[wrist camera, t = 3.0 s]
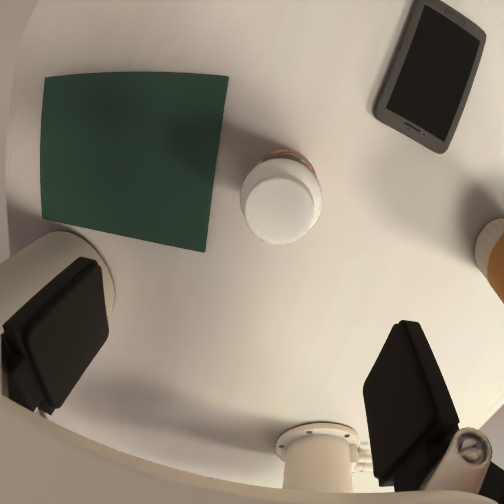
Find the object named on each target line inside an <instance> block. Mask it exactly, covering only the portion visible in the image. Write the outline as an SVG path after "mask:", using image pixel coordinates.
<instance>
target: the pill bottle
mask: <svg viewBox="0 0 504 504" xmlns="http://www.w3.org/2000/svg"><path fill="white" fill-rule="evenodd" d="M240 206H241V210H242V213H243V215H244V217H245V219H246V222H247V224H248V226H249V228H250V229H251V231H252V232H253V233H254V234H255V235H256V236H257V237H259V238H260V239H261V240H263V241H265V242H268V243H271V244H279V245H282V244H288V243H292V242H294V241H297V240H298V239H300V238H301V237H302V236H303V235H304V234H305V233H306V232H307V231H308V230H309V229H310V228H311V227H312V226H313V224H314V223H315V222H316V220H317V219H318V217H319V214H320V212H321V208H322V191H321V187H320V184H319V181H318V179H317V176H316V173H315V170H314V168H313V166H312V165H311V163H310V162H309V161H308V160H307V159H306V158H305V157H304V156H302V155H301V154H299V153H297V152H294V151H291V150H277V151H274V152H271V153H269V154H267V155H266V156H264V157H263V158H262V159H261V160H260V161H259V162H258V163H257V164H256V166H255V167H254V168H253V169H252V170H251V171H250V172H249V174H248V175H247V177H246V178H245V180H244V182H243V184H242V188H241V192H240Z"/></svg>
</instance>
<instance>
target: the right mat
mask: <svg viewBox="0 0 504 504" xmlns="http://www.w3.org/2000/svg"><path fill="white" fill-rule="evenodd" d="M228 79H229V77H226V76H216V75H204V74H190V73H169V72H112V73H91V74H77V75H66V76H57V77H48V78H45V84H44V94H43V105H42V118H41V140H40V183H41V205H42V218H43V219H46V220H51V221H56V222H60V223H65V224H70V225H74V226H79V227H84V228H88V229H93V230H98V231H102V232H107V233H112V234H117V235H121V236H126V237H131V238H136V239H140V240H145V241H150V242H155V243H160V244H164V245H169V246H174V247H179V248H184V249H189V250H194V251H199V252H203V253H204V252H205V249H206V240H207V231H208V222H209V213H210V205H211V197H212V189H213V181H214V173H215V166H216V158H217V151H218V144H219V137H220V130H221V124H222V117H223V110H224V104H225V98H226V91H227V85H228Z"/></svg>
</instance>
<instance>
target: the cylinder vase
mask: <svg viewBox="0 0 504 504" xmlns="http://www.w3.org/2000/svg"><path fill="white" fill-rule="evenodd" d="M78 257H86V258H90V259H94V260H96V261H97V262H98V265H100V266H101V268H102V276H103V287H104V296H105V305H106V313H107V318H108V317H109V315H110V314H111V312H112V309H113V306H114V300H115V292H114V285H113V281H112V278H111V275H110V272H109V270H108V268H107V266H106V264H105V263H104V261H103V259H102V258H101V257H100V255H99V254H98V253H97V251H96V250H95V249H94V248H93V247H92V246H91V245H90V244H89V243H87V242H86V241H85V240H83V239H82V238H80V237H78V236H77V235H74V234H72V233H69V232H64V231H54V232H50V233H48V234H46V235H44V236H42V237H41V238H39V239H38V240H36V241H34V242H33V243H31V244H30V245H28V246H27V247H25V248H24V249H22V250H20V251H19V252H17V253H16V254H14V255H13V256H11V257H10V258H8V259H7V260H5V261H4V262H3V263H1V264H0V334H2V333H3V332H4V330H3V327H2V325H3V324H4V323H5V322H6V321H7V320H8V319H9V318H10V317H11V316H12V315H13V314H14V313H16V312H17V311H18V310H19V309H20V308H21V307H22V306H23V305H24V304H25V303H26V302H27V301H29V300H30V299H31V298H32V297H33V296H34V295H35V294H36V293H37V292H38V291H40V290H41V289H42V288H43V287H44V286H45V285H46V284H48V283H49V282H50V281H51V280H52V279H53V278H54V277H56V276H57V275H58V274H59V273H60V272H62V271H63V270H64V269H65V268H66V267H67V266H69V265H70V264H71V263H72V262H73V261H75V260H76V259H77V258H78ZM37 409H38V407H37V408H36V409H35V411H34V413H35V412H36V411H37Z"/></svg>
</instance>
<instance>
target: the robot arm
mask: <svg viewBox="0 0 504 504" xmlns="http://www.w3.org/2000/svg"><path fill="white" fill-rule="evenodd" d="M2 327H3V330H4V332H3V333H2V334H0V504H504V470H503V469H501V468H499V467H498V466H497V465H495V464H494V463H492V462H491V458H492V447H491V444H490V442H489V440H488V439H487V437H486V436H485V435H484V434H483V433H482V432H480V431H479V430H477V429H474V428H469V427H467V428H462V429H460V430H459V427H458V423H459V422H460V421H459V418H458V415H457V413H456V410H455V407H454V404H453V402H452V399H451V396H450V394H449V391H448V389H447V386H446V384H445V381H444V379H443V376H442V374H441V371H440V369H439V366H438V364H437V362H436V359H435V357H434V355H433V352H432V350H431V348H430V345H429V343H428V341H427V339H426V337H425V334H424V332H423V330H422V328H421V326H420V324H419V323H418V322H413V321H406V320H401V321H400V322H399V323H398V324H395V325H394V326H393V327H392V329H391V331H390V334H389V336H388V338H387V340H386V342H385V344H384V346H383V348H382V350H381V352H380V354H379V356H378V358H377V360H376V362H375V364H374V366H373V367H372V369H371V371H370V373H369V375H368V377H367V379H366V380H365V383H364V386H363V396H364V403H365V409H366V416H367V423H368V430H369V438H370V446H371V454H364V455H362V454H359V453H357V452H358V451H359V449H360V438H359V436H358V434H357V433H356V432H355V431H354V430H352V429H351V428H349V427H346V426H343V425H339V424H332V423H315V424H307V425H302V426H299V427H296V428H293V429H291V430H289V431H287V432H285V433H284V434H282V435H281V436H280V437H279V439H278V440H277V443H276V453H277V456H278V457H279V458H280V459H281V460H283V461H284V462H285V468H284V480H283V489H276V488H268V487H261V486H254V485H248V484H242V483H236V482H230V481H225V480H220V479H215V478H211V477H206V476H202V475H197V474H193V473H189V472H185V471H182V470H178V469H174V468H170V467H167V466H164V465H160V464H157V463H154V462H150V461H147V460H144V459H141V458H138V457H135V456H132V455H129V454H127V453H124V452H121V451H118V450H116V449H113V448H110V447H108V446H105V445H103V444H100V443H98V442H95V441H93V440H90V439H88V438H86V437H83V436H81V435H79V434H77V433H74V432H72V431H70V430H68V429H66V428H64V427H62V426H59V425H57V424H55V423H53V422H51V421H49V420H47V419H45V418H43V417H41V416H39V415H37V414H36V413H34V411H35V409H36V408H37V407H38V409H40V410H42V411H44V412H46V413H48V414H49V415H52V413H53V412H54V410H55V408H56V409H58V408H60V407H61V406H62V404H63V403H64V401H65V400H66V398H67V397H68V395H69V394H70V392H71V391H72V389H73V388H74V386H75V385H76V383H77V382H78V380H79V379H80V377H81V376H82V374H83V373H84V371H85V370H86V368H87V367H88V366H89V364H90V363H91V361H92V360H93V358H94V357H95V356H96V354H97V353H98V351H99V350H100V348H101V347H102V346H103V344H104V343H105V341H106V340H107V338H108V334H109V327H108V320H107V313H106V305H105V296H104V287H103V276H102V268H101V266H100V265H98V262H97V261H96V260H94V259H90V258H86V257H78V258H77V259H76V260H75V261H73V262H72V263H71V264H70V265H69V266H67V267H66V268H65V269H64V270H63V271H62V272H60V273H59V274H58V275H57V276H56V277H54V278H53V279H52V280H51V281H50V282H49V283H48V284H46V285H45V286H44V287H43V288H42V289H41V290H40V291H38V292H37V293H36V294H35V295H34V296H33V297H32V298H31V299H30V300H29V301H27V302H26V303H25V304H24V305H23V306H22V307H21V308H20V309H19V310H18V311H17V312H16V313H14V314H13V315H12V316H11V317H10V318H9V319H8V320H7V321H6V322H5V323H4V324H3V325H2ZM354 471H361V472H372V471H373V473H374V476H375V478H378V480H379V487H385V486H394V490H395V492H389V493H353V486H352V473H353V472H354Z"/></svg>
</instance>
